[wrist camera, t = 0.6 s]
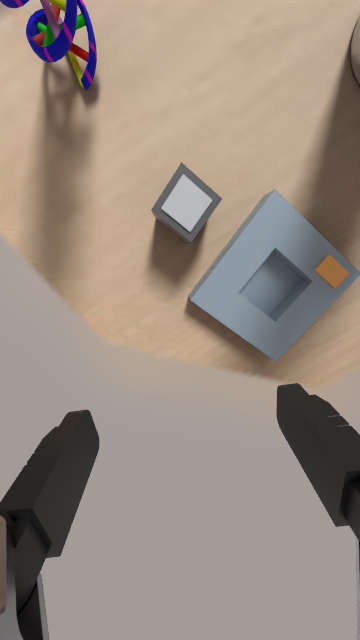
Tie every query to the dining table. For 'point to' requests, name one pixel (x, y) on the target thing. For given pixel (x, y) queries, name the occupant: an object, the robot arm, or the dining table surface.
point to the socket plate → (273, 277)
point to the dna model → (60, 34)
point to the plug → (185, 204)
